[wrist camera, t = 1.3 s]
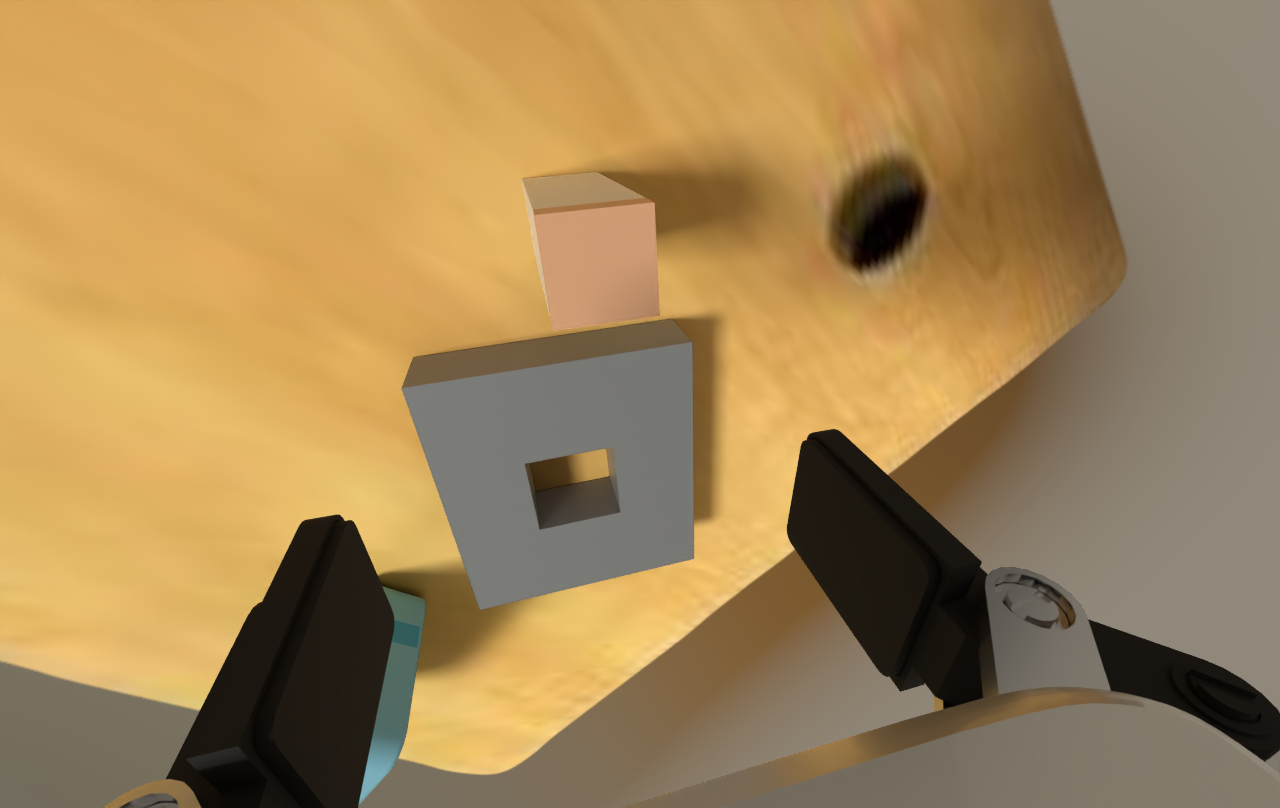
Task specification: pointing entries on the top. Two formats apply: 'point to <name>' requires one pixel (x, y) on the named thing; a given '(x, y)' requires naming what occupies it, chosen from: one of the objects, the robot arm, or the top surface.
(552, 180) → the plug
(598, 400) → the socket plate
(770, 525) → the top surface
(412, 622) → the data package
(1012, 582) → the robot arm
